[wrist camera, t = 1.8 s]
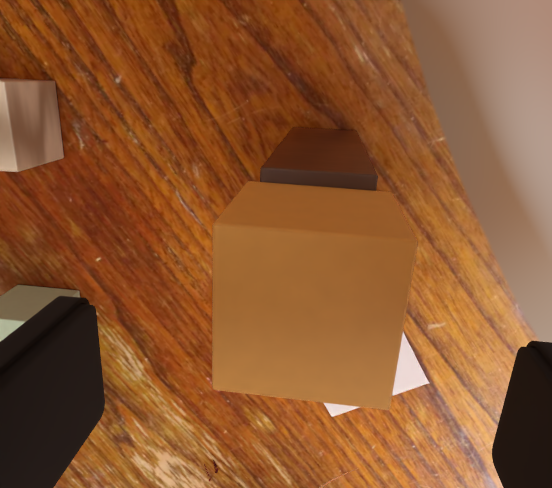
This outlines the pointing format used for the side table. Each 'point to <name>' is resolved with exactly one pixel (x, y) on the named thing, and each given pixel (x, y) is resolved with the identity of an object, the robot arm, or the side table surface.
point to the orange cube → (310, 293)
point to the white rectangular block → (405, 377)
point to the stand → (321, 160)
